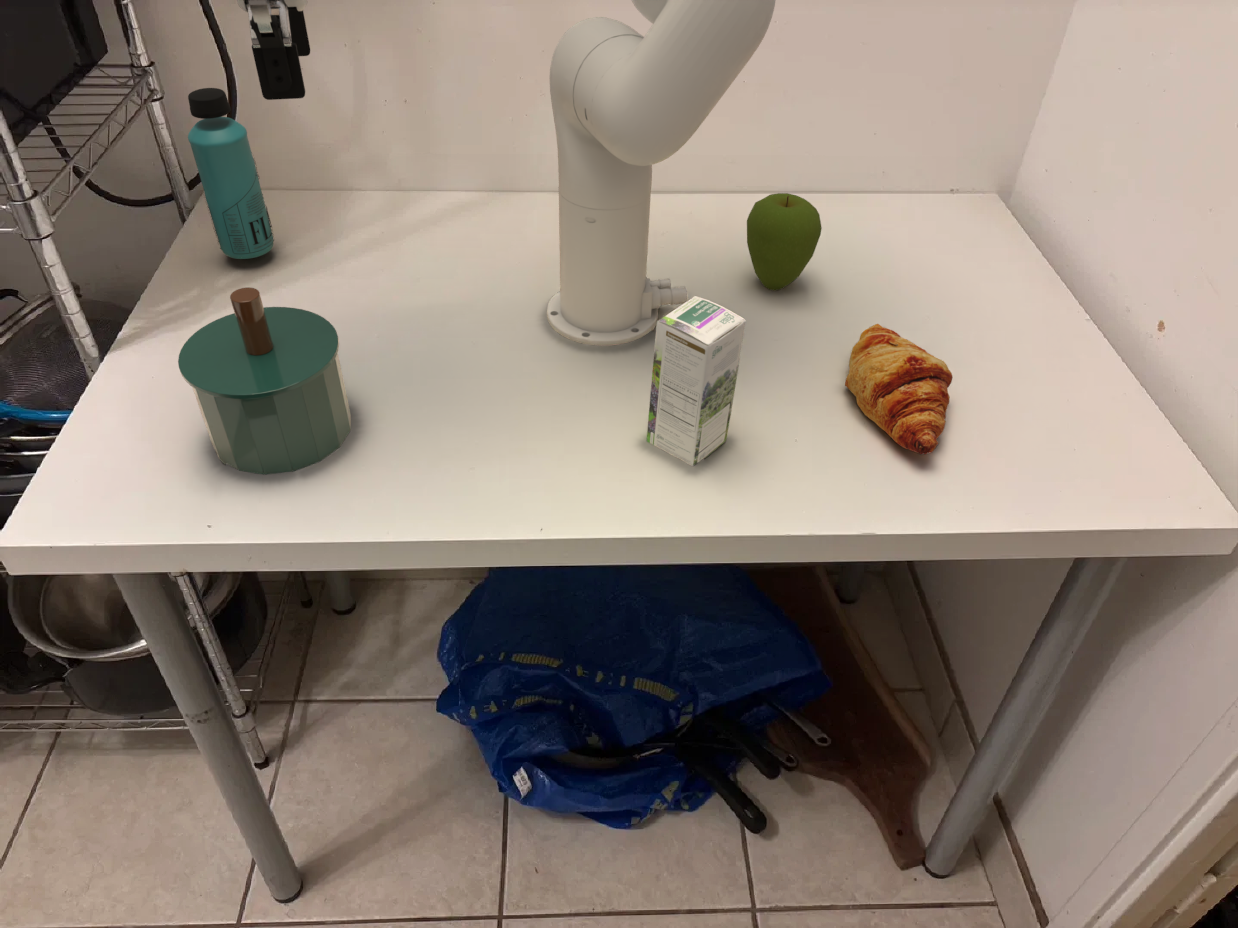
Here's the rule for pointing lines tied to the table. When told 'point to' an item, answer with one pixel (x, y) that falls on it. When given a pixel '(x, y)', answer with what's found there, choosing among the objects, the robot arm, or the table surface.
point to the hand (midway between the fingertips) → (288, 75)
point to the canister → (280, 425)
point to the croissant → (900, 388)
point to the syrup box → (694, 379)
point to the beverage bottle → (229, 177)
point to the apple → (782, 238)
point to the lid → (258, 350)
